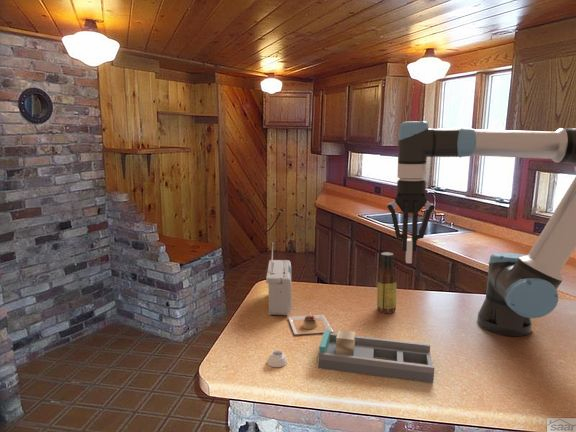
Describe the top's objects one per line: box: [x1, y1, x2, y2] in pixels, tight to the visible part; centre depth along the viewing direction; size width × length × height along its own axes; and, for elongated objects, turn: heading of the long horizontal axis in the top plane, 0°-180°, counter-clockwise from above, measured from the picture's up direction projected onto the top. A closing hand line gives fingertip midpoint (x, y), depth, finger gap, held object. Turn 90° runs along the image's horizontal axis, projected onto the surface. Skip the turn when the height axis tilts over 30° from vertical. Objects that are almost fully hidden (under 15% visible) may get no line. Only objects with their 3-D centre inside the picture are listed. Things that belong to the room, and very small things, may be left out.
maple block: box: [336, 329, 356, 356], centre depth 113 cm, size 4×4×4 cm
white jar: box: [267, 349, 288, 368], centre depth 112 cm, size 5×3×5 cm
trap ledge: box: [317, 328, 435, 384], centre depth 112 cm, size 28×12×6 cm, turn 77°
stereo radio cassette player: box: [265, 242, 292, 317], centre depth 148 cm, size 21×8×20 cm, turn 179°
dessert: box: [287, 312, 334, 336], centre depth 133 cm, size 12×12×5 cm
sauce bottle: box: [376, 251, 397, 314], centre depth 143 cm, size 7×6×20 cm
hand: (408, 261), depth 122 cm, fingers closed
